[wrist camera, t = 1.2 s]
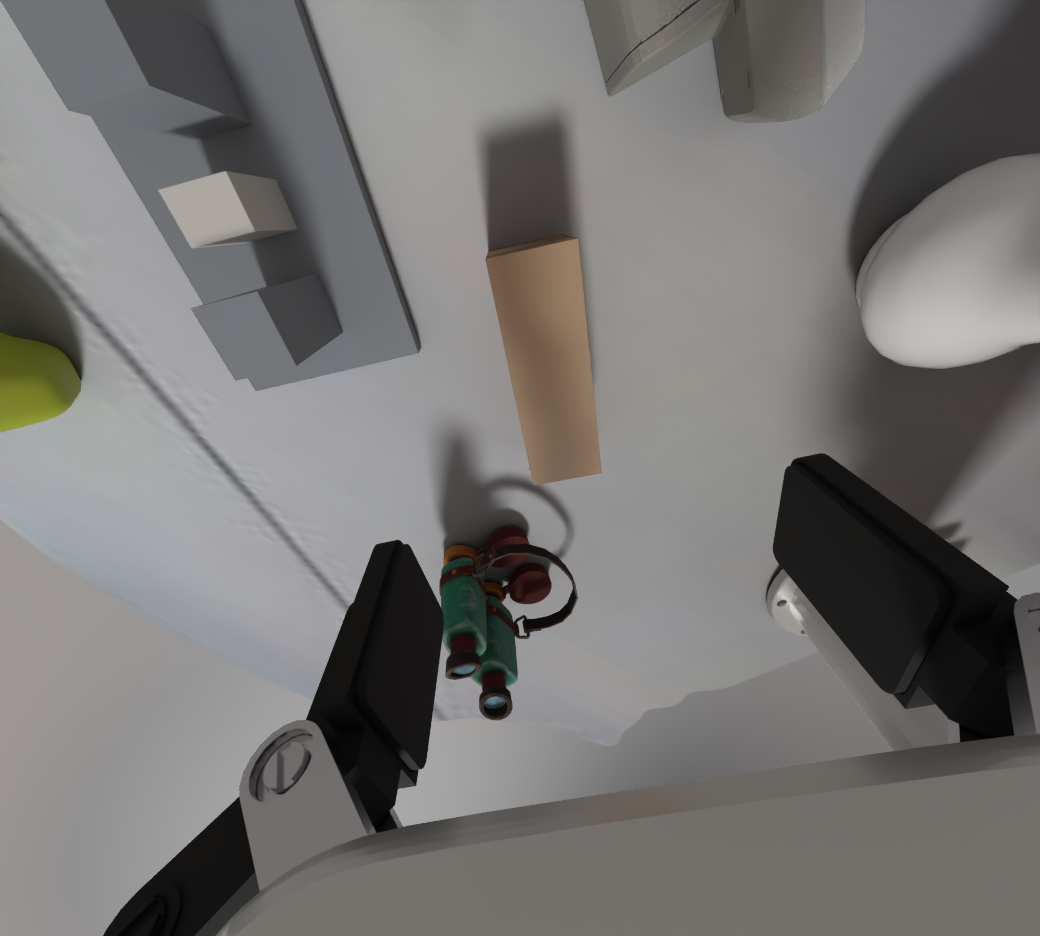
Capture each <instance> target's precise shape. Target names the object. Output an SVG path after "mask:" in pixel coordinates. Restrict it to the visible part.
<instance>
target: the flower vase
mask: <svg viewBox="0 0 1040 936" xmlns="http://www.w3.org/2000/svg"><path fill="white" fill-rule="evenodd" d="M856 299H857V302H858V306H859V309H860V318H861V321H862V325H863V329H864V332H865V335H866V337H867V339H868V340H869V341H870V343H871V344H872V345H873V347H874V348H875V349H876V350H877V352H878V353H879V354H881V355H883V356H885V357H886V358H888V359H890V360H892V361H894V362H896V363H898V364H900V365H905V366H913V367H920V368H928V369H943V368H951V367H959V366H967V365H972V364H976V363H980V362H983V361H986V360H989V359H992V358H995V357H998V356H1001V355H1004V354H1007V353H1009V352H1012V351H1014V350H1016V349H1018V348H1021V347H1023V346H1025V345H1028V344H1033V343H1040V153H1032V154H1025V155H1017V156H1010V157H1004V158H999V159H996V160H994V161H991V162H989V163H986V164H984V165H982V166H979V167H977V168H974V169H972V170H970V171H967V172H965V173H962V174H960V175H959V176H957V177H956V178H954V179H953V180H951V181H950V182H948V183H947V184H945V185H943V186H942V187H940V188H939V189H937V190H936V191H934V192H933V193H931V194H930V195H928V196H927V197H926V198H925V199H923V200H922V201H921V202H920V203H919V204H918V205H917V206H916V207H915V208H914V209H913V210H912V211H910V212H909V213H907V214H906V215H904V216H903V217H901V218H900V219H898V220H897V221H895V222H894V223H893V224H892V225H891V226H890V227H889V228H888V229H887V230H886V231H885V232H884V233H883V234H882V235H881V236H880V237H879V238H878V240H877V241H876V242H875V244H874V245H873V246H872V247H871V249H870V250H869V252H868V254H867V256H866V258H865V259H864V261H863V263H862V265H861V268H860V271H859V275H858V278H857V281H856Z"/></svg>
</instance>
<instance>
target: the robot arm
mask: <svg viewBox="0 0 1040 936" xmlns="http://www.w3.org/2000/svg"><path fill="white" fill-rule="evenodd" d="M773 553H774V556H775V558H776V560H777V562H778V563H779V564H780V566H781V567H782V568H783V569H782V570H781V571H780V572H779V574H778V575H777V576H776V577H775V579H774V580H773V582H772V584H771V586H770V588H769V591H768V595H767V608H768V610H769V613H770V615H771V616H772V617H773V619H774V620H775V622H776V623H777V625H779V626H780V627H781V628H782V629H784V630H786V631H788V632H790V633H792V634H796V635H800V636H808V637H809V638H810V640H811V641H812V642H813V644H814V645H815V646H816V648H817V649H818V651H819V652H820V653H821V654H822V656H823V657H824V659H825V660H826V661H827V663H828V664H829V665H830V667H831V668H832V670H833V671H834V672H835V674H836V675H837V676H838V678H839V679H840V680H841V682H842V683H843V684H844V686H845V687H846V689H847V690H848V691H849V693H850V694H851V695H852V696H853V698H854V699H855V701H856V702H857V703H858V705H859V706H860V708H861V709H862V710H863V712H864V713H865V714H866V716H867V717H868V718H869V720H870V721H871V722H872V724H873V725H874V726H875V728H876V729H877V730H878V732H879V733H880V735H881V736H882V737H883V739H884V740H885V741H886V743H887V744H888V746H889V747H890V748H891V750H892V752H885V753H878V754H871V755H864V756H857V757H851V758H843V759H836V760H829V761H822V762H816V763H809V764H802V765H795V766H788V767H781V768H774V769H768V770H761V771H754V772H747V773H740V774H734V775H727V776H720V777H714V778H707V779H700V780H693V781H688V782H680V783H673V784H667V785H660V786H654V787H648V788H640V789H634V790H627V791H620V792H614V793H607V794H601V795H594V796H588V797H581V798H575V799H569V800H562V801H556V802H549V803H543V804H537V805H530V806H523V807H517V808H511V809H504V810H497V811H491V812H485V813H479V814H473V815H467V816H462V817H456V818H450V819H445V820H440V821H433V822H427V823H422V824H416V825H411V826H405V827H403V826H402V824H401V822H400V820H399V818H398V816H397V814H396V812H395V811H394V809H393V806H394V805H395V801H396V796H397V790H398V789H399V788H406V787H412V786H416V783H417V776H418V769H422V768H423V767H424V766H425V763H426V759H427V752H428V743H429V736H430V728H431V721H432V713H433V705H434V698H435V690H436V682H437V674H438V667H439V659H440V651H441V643H442V636H443V628H444V616H443V612H442V609H441V607H440V605H439V603H438V601H437V599H436V597H435V595H434V593H433V591H432V589H431V587H430V585H429V583H428V581H427V579H426V577H425V575H424V573H423V571H422V569H421V567H420V565H419V563H418V561H417V559H416V557H415V555H414V553H413V551H412V549H411V547H410V546H409V545H408V544H404V545H403V543H402V542H401V541H400V540H395V541H390V542H385V543H380V544H377V545H375V547H374V549H373V552H372V554H371V557H370V560H369V562H368V565H367V568H366V571H365V573H364V576H363V579H362V581H361V584H360V587H359V589H358V592H357V595H356V598H355V600H354V602H353V603H352V604H351V605H350V607H349V609H348V610H347V613H346V615H345V618H344V621H343V623H342V626H341V629H340V631H339V634H338V637H337V639H336V642H335V644H334V647H333V650H332V652H331V655H330V658H329V660H328V663H327V666H326V668H325V671H324V673H323V676H322V679H321V681H320V684H319V687H318V689H317V692H316V695H315V697H314V700H313V703H312V705H311V708H310V710H309V713H308V716H307V718H306V720H299V721H294V722H292V723H290V724H287V725H285V726H283V727H281V728H280V729H278V730H277V731H275V732H274V733H272V735H270V737H268V738H267V739H266V740H265V741H264V742H263V743H262V744H261V745H260V747H259V748H258V749H257V750H256V752H255V753H254V754H253V756H252V757H251V759H250V761H249V763H248V765H247V766H246V769H245V770H244V772H243V776H242V780H241V783H240V796H239V797H238V798H237V799H236V800H235V801H234V802H233V803H232V804H231V805H230V806H229V807H228V808H227V809H226V810H224V811H223V812H222V813H221V814H220V815H219V816H218V817H217V818H216V819H215V820H214V821H213V822H212V823H211V824H210V825H208V826H207V827H206V828H205V829H204V830H203V831H202V832H201V833H200V834H199V835H198V836H197V837H196V838H195V839H193V840H192V841H191V842H190V843H189V844H188V845H187V846H186V847H185V848H184V849H183V850H182V851H181V852H180V853H178V854H177V855H176V856H175V857H174V858H173V859H172V860H171V861H170V862H169V863H168V864H167V865H166V866H165V867H164V868H162V869H161V870H160V871H159V872H158V873H157V874H156V875H155V876H154V877H153V878H152V879H151V880H150V881H148V882H147V883H146V884H145V885H144V886H143V887H142V888H141V889H140V890H139V891H138V892H137V893H136V894H135V895H134V896H133V897H132V898H131V899H130V900H129V901H128V903H127V904H126V905H125V906H124V907H123V908H122V909H121V910H120V912H119V913H118V915H117V916H116V917H115V919H114V920H113V922H112V923H111V924H110V926H109V927H108V928H107V930H106V932H105V933H104V935H103V936H1040V593H1033V594H1029V595H1025V596H1022V597H1021V598H1020V599H1019V600H1017V599H1016V598H1014V597H1013V596H1012V595H1010V594H1009V593H1008V592H1006V591H1007V589H1008V588H1009V586H1008V585H1006V584H1005V583H1004V582H1002V581H1001V580H999V579H998V578H997V577H995V576H994V575H992V574H991V573H990V572H988V571H987V570H986V569H984V568H983V567H981V566H980V565H979V564H977V563H976V562H974V561H973V560H972V559H970V558H969V557H968V556H966V555H965V554H963V553H962V552H961V551H959V550H958V549H957V548H955V547H954V546H952V545H951V544H950V543H948V542H947V541H945V540H944V539H943V538H941V537H940V536H939V535H937V534H936V533H934V532H933V531H932V530H930V529H929V528H928V527H926V526H925V525H923V524H922V523H921V522H919V521H918V520H916V519H915V518H914V517H912V516H911V515H910V514H908V513H907V512H905V511H904V510H903V509H901V508H900V507H899V506H897V505H896V504H894V503H893V502H892V501H890V500H889V499H887V498H886V497H885V496H883V495H882V494H881V493H879V492H878V491H876V490H875V489H874V488H872V487H871V486H870V485H868V484H867V483H865V482H864V481H863V480H861V479H860V478H858V477H857V476H856V475H854V474H853V473H852V472H850V471H849V470H847V469H846V468H845V467H843V466H842V465H841V464H839V463H838V462H836V461H835V460H834V459H832V458H831V457H829V456H828V455H826V454H822V453H820V454H815V455H810V456H805V457H800V458H796V459H794V460H793V462H792V463H791V466H788V467H787V468H786V470H785V474H784V480H783V487H782V493H781V499H780V505H779V512H778V518H777V524H776V530H775V537H774V543H773Z"/></svg>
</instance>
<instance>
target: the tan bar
mask: <svg viewBox="0 0 1040 936" xmlns="http://www.w3.org/2000/svg"><path fill="white" fill-rule="evenodd" d="M486 263H487V268H488V273H489V278H490V282H491V287H492V292H493V296H494V301H495V306H496V310H497V315H498V320H499V325H500V329H501V334H502V339H503V343H504V348H505V353H506V358H507V362H508V367H509V372H510V376H511V381H512V386H513V391H514V395H515V400H516V405H517V409H518V414H519V419H520V423H521V428H522V433H523V438H524V442H525V447H526V452H527V456H528V461H529V466H530V471H531V475H532V480H533V485H539V484H544V483H550V482H555V481H561V480H566V479H572V478H577V477H583V476H588V475H594V474H599V473H602V470H601V460H600V450H599V441H598V431H597V421H596V411H595V401H594V391H593V381H592V371H591V361H590V351H589V341H588V331H587V321H586V311H585V301H584V292H583V282H582V272H581V262H580V252H579V242H578V238H575V237H571V236H567V235H558V236H554V237H549V238H545V239H540V240H536V241H531V242H527V243H522V244H518V245H513V246H509V247H505V248H500V249H496V250H491V251H488V254H487V256H486Z"/></svg>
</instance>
